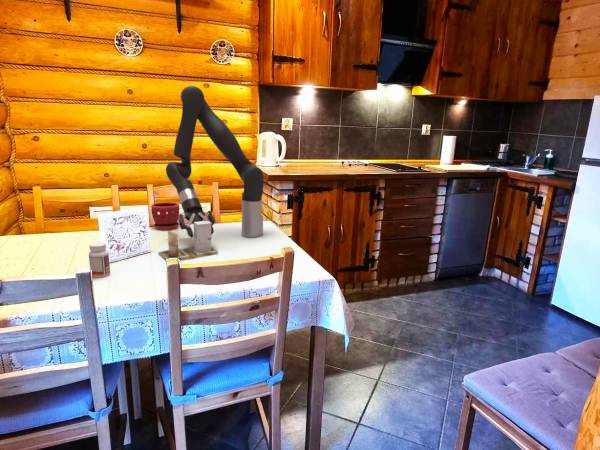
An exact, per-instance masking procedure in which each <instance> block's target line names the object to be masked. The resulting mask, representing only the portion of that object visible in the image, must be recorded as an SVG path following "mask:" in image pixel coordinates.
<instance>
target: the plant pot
mask: <svg viewBox="0 0 600 450" xmlns="http://www.w3.org/2000/svg"><path fill="white" fill-rule="evenodd" d="M150 207H151V216H152V220H153V222H154V224H153V226H154V228H155V229H157V230H161V231H163V230H164V231H166V230H167V231H171V230H174V229H176V228H178V227H179V226H180V224H179V220H178V217H179V215H180V204H179V202H178V203H177V202H170V201H169V202H166V201H165V202H156V203H152V204H151V205H150Z"/></svg>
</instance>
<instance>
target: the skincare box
mask: <svg viewBox="0 0 600 450" xmlns="http://www.w3.org/2000/svg"><path fill="white" fill-rule="evenodd" d="M193 246H194V250H195V251H196V252H198V253H202V252H209V251H211V247H212V235H211V223H210V222H208V221H204V220H203V221H199V222H194V224H193Z"/></svg>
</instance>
